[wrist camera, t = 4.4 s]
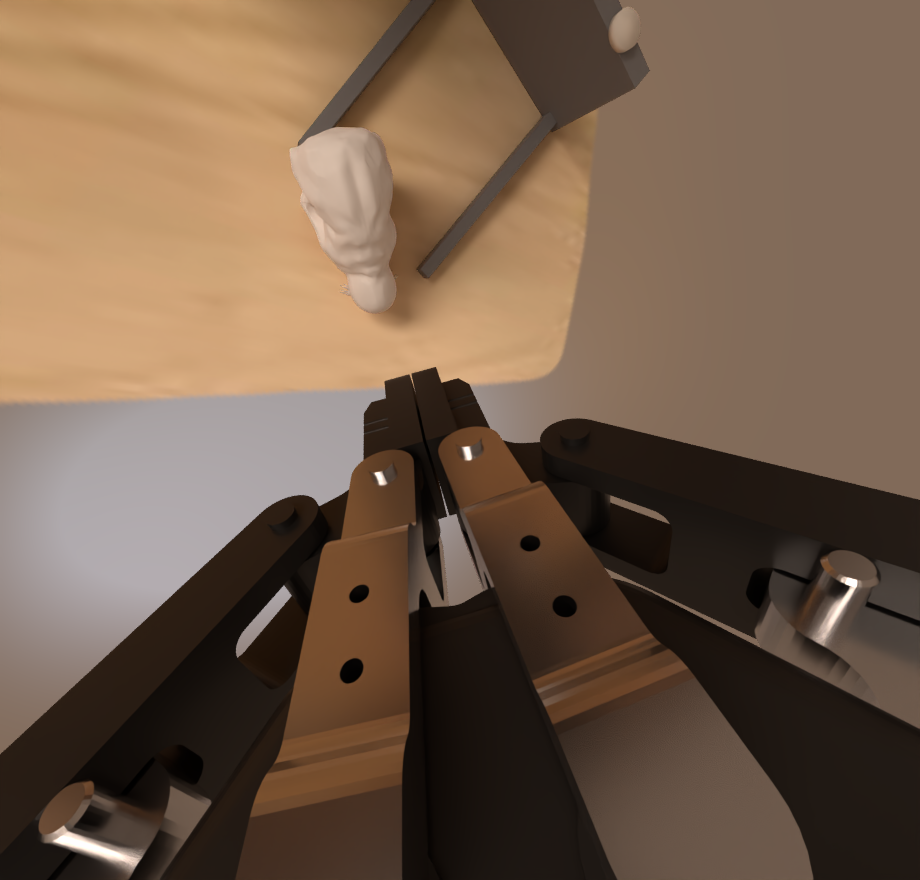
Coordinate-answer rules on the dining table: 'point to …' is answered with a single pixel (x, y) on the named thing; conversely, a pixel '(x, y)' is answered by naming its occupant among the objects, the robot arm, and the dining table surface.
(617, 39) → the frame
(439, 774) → the robot arm
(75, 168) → the dining table surface
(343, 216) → the cream figurine
